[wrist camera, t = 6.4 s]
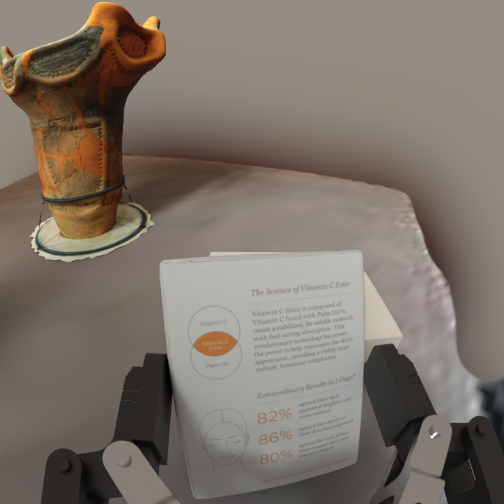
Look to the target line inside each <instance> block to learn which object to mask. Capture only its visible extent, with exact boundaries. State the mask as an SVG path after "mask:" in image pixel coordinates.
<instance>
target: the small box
mask: <svg viewBox="0 0 504 504" xmlns="http://www.w3.org/2000/svg"><path fill="white" fill-rule="evenodd" d="M160 284H161V295H162V306H163V316H164V326H165V335H166V344H167V353H168V361H169V369H170V376H171V383H172V390H173V397H174V403H175V410H176V416H177V422H178V427H179V432H180V438H181V443H182V448H183V453H184V458H185V463H186V468H187V472H188V477H189V481H190V486H191V490H192V494H193V497H194V498H195V499H207V498H214V497H222V496H230V495H236V494H242V493H248V492H253V491H258V490H264V489H268V488H273V487H278V486H282V485H286V484H290V483H294V482H298V481H302V480H305V479H309V478H313V477H316V476H319V475H322V474H326V473H329V472H332V471H335V470H338V469H341V468H344V467H347V466H350V465H353V464H355V463H356V462H357V458H358V450H359V439H360V428H361V416H362V402H363V373H364V358H365V290H364V264H363V253H362V251H359V250H346V251H319V252H286V253H263V254H242V255H225V256H209V257H196V258H183V259H171V260H163V261H162V262H161V263H160Z"/></svg>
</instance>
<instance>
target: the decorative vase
mask: <svg viewBox="0 0 504 504" xmlns="http://www.w3.org/2000/svg"><path fill="white" fill-rule="evenodd" d="M159 27H160V20H159V19H158V18H157V17H155V16H153V17H151V18H149V19H148V20H147V21H146V22H145V23H144V24H143V26H141V25H139V24H138V23H137V22H135V20H134V19H133V17H132V16H131V14H130V13H129V12H128V11H127V10H126V9H125V8H124V7H123V6H121V5H118V4H115V3H109V2H99V3H97V4H96V5H95V6H94V8H93V10H92V13H91V15H90V17H89V19H88V21H87V22H86V24H85V25H84V26H83V27H82V28H81V29H80V30H79V31H78V32H77V33H75V34H73V35H71V36H69V37H67V38H64V39H61V40H59V41H56V42H52V43H50V44H46V45H43V46H40V47H37V48H34V49H31V50H28V51H26V52H23V53H21V54H18V55H16V56H14V55H13V53H12V52H11V51H10V50H9V48H8V47H6V46H4V47H2V48H1V49H0V79H1V82H2V88H3V90H4V92H5V93H6V94H8V95H9V97H10V98H11V99H12V101H13V102H14V103H15V104H16V105H17V106H18V107H20V108H21V109H22V110H24V111H25V113H26V114H27V115H28V117H29V119H30V127H31V130H32V134H33V145H34V151H35V156H36V160H37V164H38V170H39V174H40V178H41V181H42V185H43V190H42V194H41V196H42V198H43V204H44V203H48V204H49V208H50V211H51V213H52V215H53V217H51V218H50V219H47V221H45V222H42V223H41V225H40V223H39V225H38V226H37V227H36V228H35V232H33V233H32V235H31V236H29V237H33V238H34V239H32V240H33V241H32V242H31V244H32V248H35V250H34V252H39V256H44V257H45V259H52V260H58V259H60V260H62V261H65V262H71V261H74V260H83V259H85V258H87V257H90V258H92V259H93V258H94V257H95V256H100V255H106V254H108V253H109V252H111V251H113V250H114V249H116V248H118V247H121V246H124V245H127V244H129V243H130V242H132V241H134V240H135V239H137V238H139V236H140V235H141V234H142V233H146V232H147V231H146V229H147V228H148V227H149V226H152V225H155V224H154V223H153V222H152V221H151V220H150V219H149V218H151V214H148V213H147V212H148V210H144V208H143V207H142V206H141V205H139V204H136V203H134V202H132V200H131V197H130V195H129V198H130V200H131V203H122V202H120V199H121V197H122V188H126V186H125V177H124V175H123V165H122V133H123V122H124V120H123V119H124V107H125V103H126V100H127V97H128V95H129V93H130V92H131V90H132V89H133V88H134V86H135V85H136V84H137V82H138V81H139V80H140V78H141V77H142V76H143V75H144V74H146V73H147V72H148V71H150V70H152V69H153V68H154V67H155V66H156V65H157V64H158V63H159V62H160V61H162V59H163V58H164V57H165V56H166V42H165V36H164V34H163V33H162V32H161V31H160V30H159ZM126 189H127V188H126ZM127 190H128V189H127ZM40 222H41V215H40Z"/></svg>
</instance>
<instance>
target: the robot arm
mask: <svg viewBox="0 0 504 504" xmlns="http://www.w3.org/2000/svg"><path fill="white" fill-rule="evenodd" d="M363 380H364V384H365V386H366V389H367V392H368V395H369V398H370V401H371V404H372V406H373V409H374V412H375V415H376V418H377V421H378V424H379V427H380V430H381V433H382V436H383V440H384V443H385V446H386V447H389V446H392V445H395V446H396V449H397V450H396V451H395V453H394V455H393V458H392V460H391V463H390V465H389V468H388V470H387V472H386V475H385V477H384V479H383V481H382V484H381V486H380V488H379V490H378V491H377V493H376V494H375V495H374V496H373V498H372V499H371V501H370V502H369V504H439V501H440V498H441V495H442V492H443V489H444V490H445V494H446V498H447V502H448V504H504V453H503V450H502V448H501V445H500V443H499V440H498V438H497V435H496V433H495V430H494V428H493V425H492V423H491V422H490V421H489V420H488V419H487V418H485V417H483V416H476V417H474V418H472V419H471V420H470V421H469V422H468V423H449V421H448V420H447V419H446V418H444V417H442V416H440V415H437V414H436V412H435V410H434V408H433V406H432V404H431V402H430V399H429V397H428V395H427V393H426V391H425V388H424V386H423V384H422V383H421V380H420V378H419V376H418V375H417V371H416V369H415V367H414V365H413V363H412V362H411V361H410V360H409V359H408V358H407V357H406V356H405V355H404V354H402V355H399V353H398V351H397V349H396V347H395V345H394V344H392V343H390V344H382V345H375V346H374V347H373V349H372V351H371V353H370V356H369V358H368V360H367V362H366V364H365V367H364V373H363ZM172 394H173V390H172V383H171V376H170V369H169V362H168V358H167V355H166V354H155V353H147V354H146V355H145V359H144V365H143V367H134V366H133V368H132V369H131V370H130V372H129V373H128V375H127V376H126V378H125V383H124V387H123V392H122V397H121V402H120V407H119V412H118V417H117V422H116V428H115V434H114V437H113V440H112V441H111V443H110V444H109V445H108V446H107V447H106V448H104V449H103V450H100V451H97V452H91V453H83V454H76V453H75V452H73V451H72V450H69V449H64V448H62V449H57V450H55V451H54V452H52V453H51V454H50V456H49V457H48V459H47V464H46V470H45V477H44V483H43V491H42V499H41V504H108V500H109V498H116V497H124V498H125V500H126V501H127V503H128V504H180V503H179V502H178V500H177V499H176V498H175V497H174V495H173V494H172V493H171V492H170V490H169V489H168V488H167V487H166V485H165V484H164V483H163V481H162V480H161V479H160V478H159V465H167V457H168V442H169V429H170V416H171V405H172ZM468 459H469V460H470V463H471V466H472V469H471V466H470V463H469V460H468ZM472 470H473V472H472ZM473 473H474V475H473ZM474 476H475V478H474Z"/></svg>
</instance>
